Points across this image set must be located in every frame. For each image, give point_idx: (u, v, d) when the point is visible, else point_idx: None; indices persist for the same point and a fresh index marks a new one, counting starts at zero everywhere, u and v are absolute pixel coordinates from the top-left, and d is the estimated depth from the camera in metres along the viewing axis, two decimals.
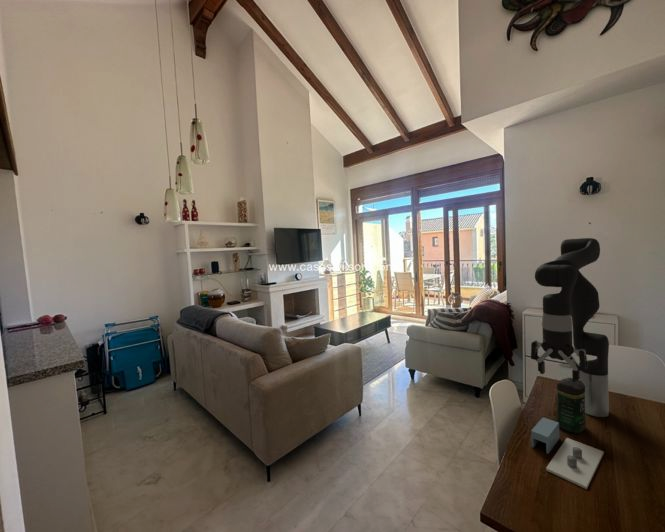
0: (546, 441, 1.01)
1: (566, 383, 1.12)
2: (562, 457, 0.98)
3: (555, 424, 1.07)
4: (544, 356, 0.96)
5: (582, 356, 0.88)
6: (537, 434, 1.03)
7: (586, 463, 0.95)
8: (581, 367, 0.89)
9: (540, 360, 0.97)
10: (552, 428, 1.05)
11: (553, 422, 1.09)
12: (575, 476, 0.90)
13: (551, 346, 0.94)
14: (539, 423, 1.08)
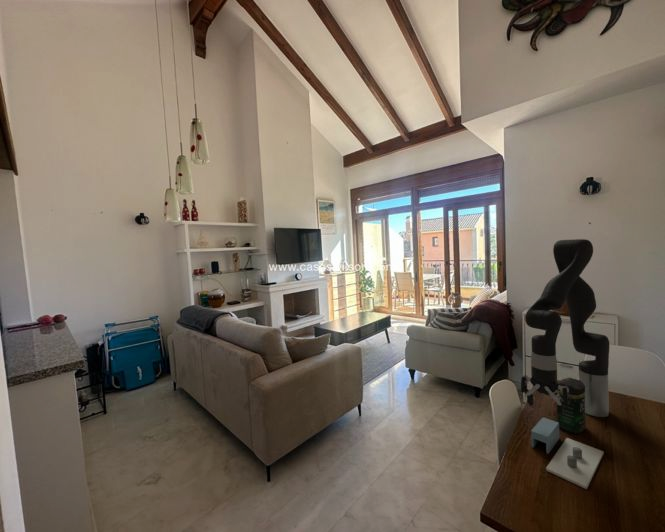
0: (546, 441, 1.01)
1: (566, 383, 1.12)
2: (562, 457, 0.98)
3: (555, 424, 1.07)
4: (532, 390, 1.07)
5: (565, 393, 1.00)
6: (537, 434, 1.03)
7: (586, 463, 0.95)
8: (564, 402, 1.00)
9: (529, 393, 1.08)
10: (552, 428, 1.05)
11: (553, 422, 1.09)
12: (575, 476, 0.90)
13: (538, 382, 1.06)
14: (539, 423, 1.08)
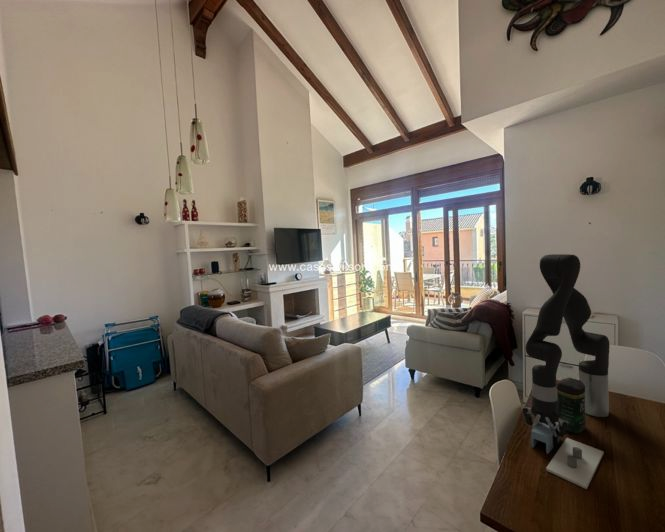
0: (546, 441, 1.01)
1: (566, 383, 1.12)
2: (562, 457, 0.98)
3: None
4: (536, 422, 1.07)
5: (564, 427, 1.01)
6: (538, 434, 1.03)
7: (586, 463, 0.95)
8: (560, 434, 1.02)
9: (534, 426, 1.08)
10: None
11: None
12: (575, 476, 0.90)
13: (539, 412, 1.06)
14: (539, 423, 1.08)
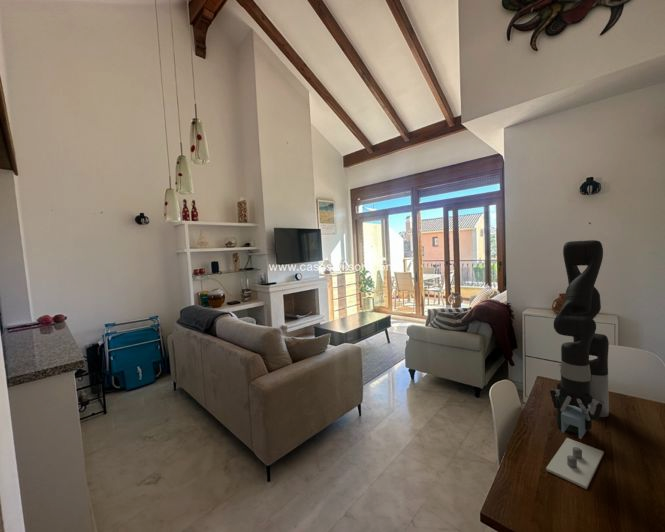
0: (579, 425, 0.92)
1: None
2: (562, 457, 0.98)
3: None
4: (565, 405, 0.97)
5: (599, 409, 0.91)
6: (569, 417, 0.93)
7: (586, 463, 0.95)
8: (594, 417, 0.92)
9: None
10: None
11: None
12: (575, 476, 0.90)
13: (569, 393, 0.97)
14: (569, 406, 0.99)
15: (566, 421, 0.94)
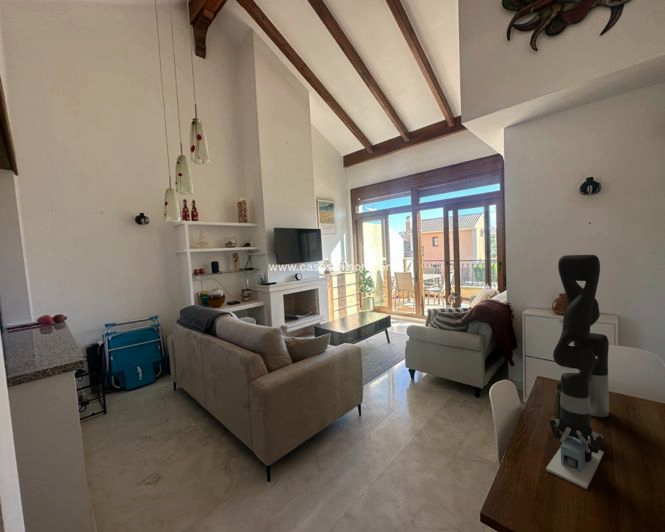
0: (578, 458, 0.91)
1: None
2: None
3: None
4: (565, 435, 0.97)
5: (599, 442, 0.91)
6: (568, 450, 0.93)
7: (586, 463, 0.95)
8: (593, 450, 0.92)
9: (563, 440, 0.98)
10: None
11: None
12: (575, 476, 0.90)
13: (569, 424, 0.97)
14: (568, 437, 0.99)
15: (566, 453, 0.94)
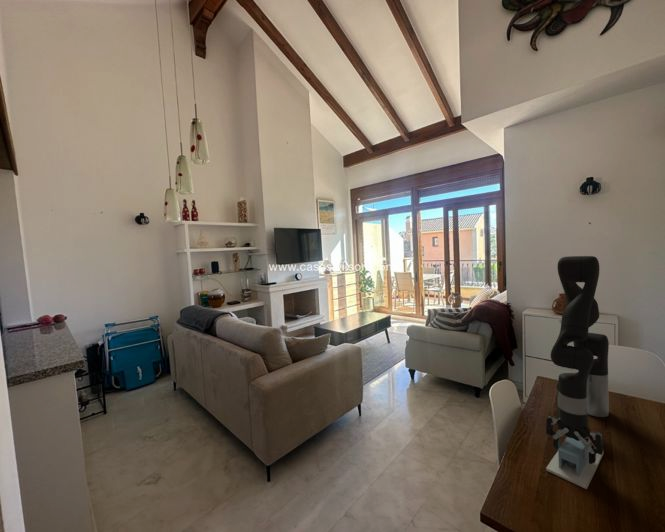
0: (576, 462, 0.90)
1: None
2: None
3: None
4: (560, 434, 0.97)
5: (599, 440, 0.89)
6: (566, 454, 0.92)
7: (586, 463, 0.95)
8: (598, 451, 0.90)
9: (556, 437, 0.98)
10: (582, 447, 0.94)
11: None
12: (575, 476, 0.90)
13: (567, 425, 0.95)
14: (566, 440, 0.97)
15: (563, 457, 0.93)
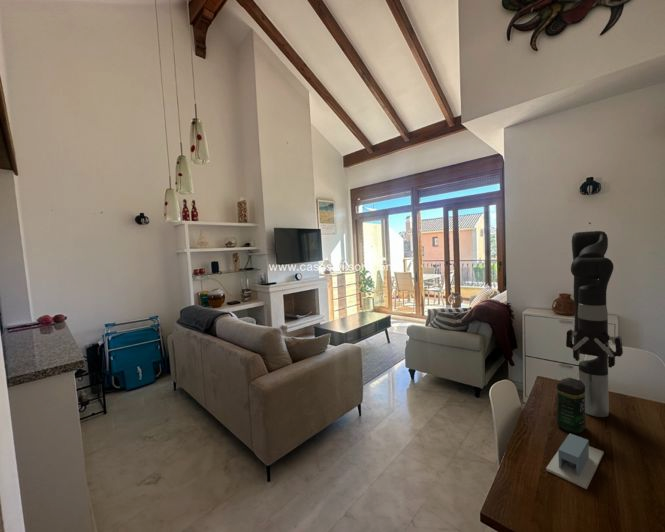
0: (576, 462, 0.90)
1: (566, 383, 1.12)
2: None
3: (584, 442, 0.96)
4: (580, 344, 1.01)
5: (618, 343, 0.94)
6: (566, 454, 0.92)
7: (586, 463, 0.95)
8: (617, 353, 0.94)
9: (575, 348, 1.03)
10: (582, 447, 0.94)
11: (582, 439, 0.97)
12: (575, 476, 0.90)
13: (587, 334, 1.00)
14: (566, 440, 0.97)
15: (563, 457, 0.93)
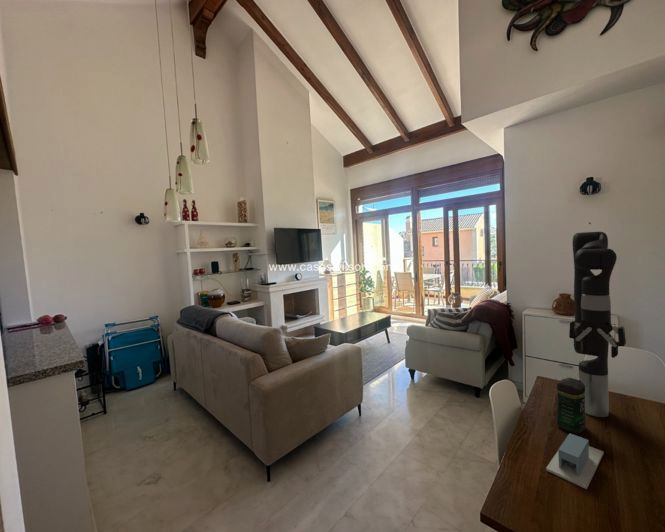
0: (576, 462, 0.90)
1: (566, 383, 1.12)
2: None
3: (584, 442, 0.96)
4: (583, 335, 1.02)
5: (621, 333, 0.95)
6: (566, 454, 0.92)
7: (586, 463, 0.95)
8: (620, 343, 0.95)
9: (579, 339, 1.04)
10: (582, 447, 0.94)
11: (582, 439, 0.97)
12: (575, 476, 0.90)
13: (590, 325, 1.01)
14: (566, 440, 0.97)
15: (563, 457, 0.93)
